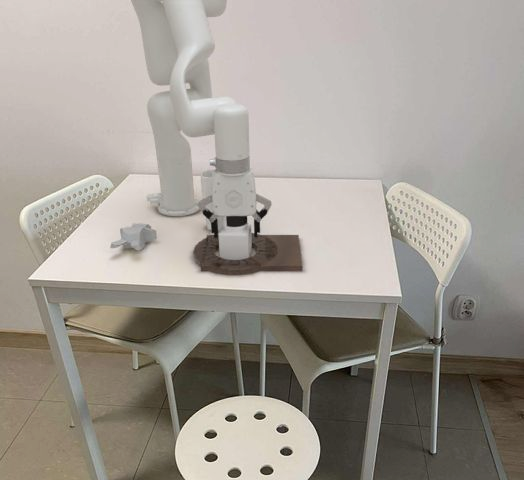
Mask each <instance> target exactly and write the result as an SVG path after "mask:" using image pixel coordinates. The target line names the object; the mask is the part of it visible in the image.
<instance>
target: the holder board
mask: <svg viewBox="0 0 524 480" xmlns="http://www.w3.org/2000/svg"><path fill="white" fill-rule="evenodd" d="M205 236H206V237H204V238H203V239H202V240H200V241H198V243H197V244H196V245H195V246H194V247H193V251H192V252H193V259H194V262H195V264H196V265H198V267H200V272H209V273H213V274H217V275H222V276H223V275H224V276H244V275H252V274H255V273H259V272H303V260H302V252H301V244H300V236H299V234H260V233H257V238H255V237H254V232H251V236H252V249H253V250H255V251H256V253H255V254H254V255H252V256H250V257H249V258H246V259H241V260H229V259H224V258H220V256H218V255H217V254H216V252H217V251H219V233H218V237H217V238H215V237H214V234H206V235H205Z"/></svg>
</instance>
